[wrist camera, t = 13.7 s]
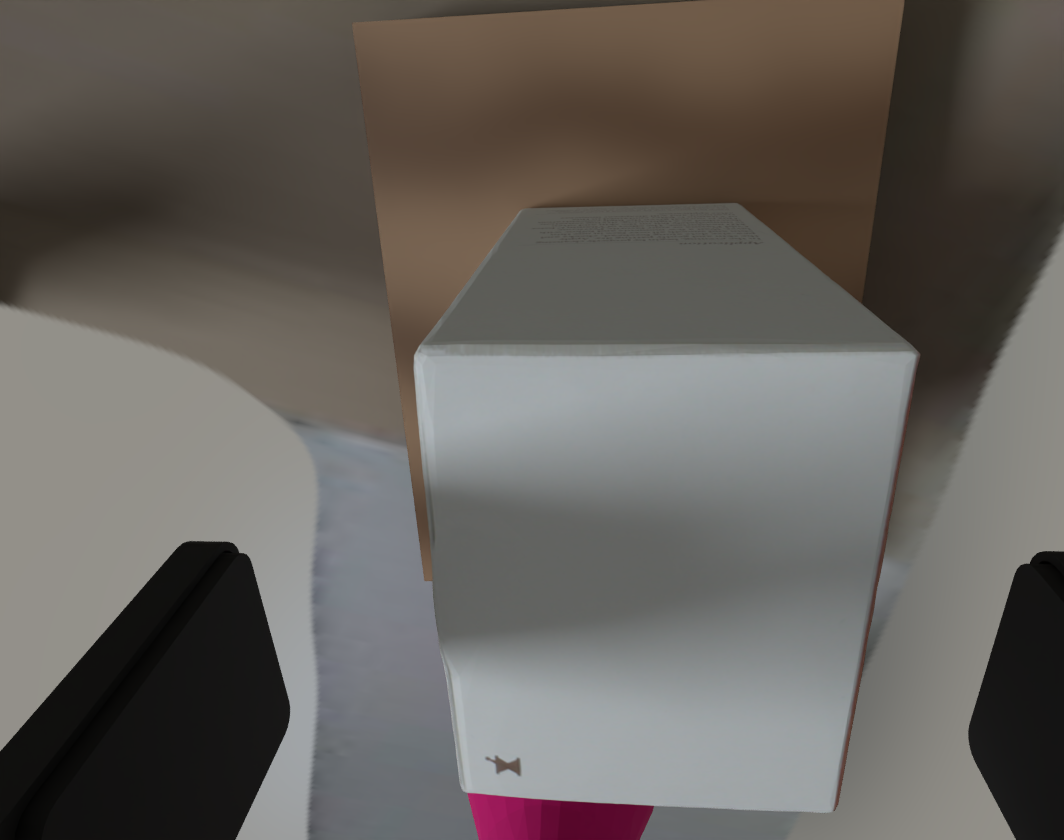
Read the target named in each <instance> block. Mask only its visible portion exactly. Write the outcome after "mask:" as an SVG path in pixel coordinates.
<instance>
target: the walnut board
mask: <svg viewBox="0 0 1064 840" xmlns="http://www.w3.org/2000/svg"><path fill="white" fill-rule="evenodd" d="M904 2H905V0H703V1H687V2H671V3H656V4H640V5H624V6H608V7H593V8H577V9H561V10H545V11H530V12H514V13H498V14H483V15H467V16H451V17H435V18H420V19H404V20H388V21H372V22H357V23H352V27H353V34H354V42H355V50H356V57H357V65H358V73H359V81H360V88H361V96H362V104H363V111H364V119H365V127H366V134H367V142H368V150H369V157H370V165H371V173H372V181H373V188H374V196H375V204H376V211H377V219H378V227H379V234H380V242H381V250H382V258H383V265H384V273H385V281H386V288H387V296H388V304H389V311H390V319H391V327H392V334H393V342H394V350H395V358H396V365H397V373H398V381H399V388H400V396H401V404H402V411H403V419H404V427H405V434H406V442H407V450H408V458H409V465H410V473H411V481H412V488H413V496H414V504H415V511H416V519H417V527H418V535H419V542H420V550H421V558H422V565H423V573H424V581H433V580H432V561H431V549H430V536H429V527H428V517H427V507H426V495H425V486H424V478H423V469H422V458H421V447H420V436H419V425H418V415H417V403H416V390H415V378H414V355H415V353H416V351H417V349H418V347H419V345H420V344H421V343H422V342H423V340H424V339H425V338H426V337H427V335H428V334H429V333H430V332H431V330H432V329H433V328H434V326H435V325H436V324H437V322H438V321H439V320H440V319H441V317H442V316H443V315H444V313H445V312H446V311H447V309H448V308H449V307H450V305H451V304H452V302H453V301H454V300H455V298H456V297H457V295H458V294H459V293H460V291H461V290H462V289H463V287H464V286H465V285H466V283H467V282H468V281H469V279H470V278H471V276H472V275H473V274H474V272H475V271H476V270H477V268H478V267H479V265H480V264H481V263H482V261H483V260H484V259H485V257H486V256H487V255H488V253H489V252H490V251H491V249H492V248H493V247H494V245H495V244H496V243H497V241H498V240H499V239H500V237H501V236H502V235H503V233H504V232H505V230H506V229H507V228H508V226H509V225H510V224H511V222H512V221H513V220H514V218H515V217H516V216H517V214H518V213H519V211H520V210H522V209H526V208H557V207H596V206H637V205H676V204H715V203H738V204H740V205H741V206H743V207H744V208H745V209H746V210H748V211H749V212H750V213H751V214H752V215H754V216H755V217H756V218H757V219H758V220H760V221H761V222H762V223H764V224H765V225H766V226H767V227H769V228H770V229H771V230H772V231H774V232H775V233H776V234H777V235H778V236H780V237H781V238H782V239H783V240H784V241H786V242H787V243H788V244H789V245H790V246H792V247H793V248H794V249H795V250H796V251H798V252H799V253H800V254H801V255H802V256H804V257H805V258H806V259H807V260H809V261H810V262H811V263H812V264H814V265H815V266H816V267H817V268H818V269H819V270H821V271H822V272H823V273H824V274H825V275H827V276H828V277H829V278H830V279H831V280H833V281H834V282H836V283H837V284H838V285H839V286H841V287H842V288H843V289H844V290H846V291H847V292H848V293H849V294H850V295H852V296H853V297H854V298H855V299H856V300H858V301H859V302H860V303H861V304H862V299H863V292H864V285H865V278H866V271H867V264H868V257H869V250H870V243H871V236H872V228H873V221H874V214H875V207H876V200H877V193H878V186H879V179H880V172H881V165H882V158H883V151H884V143H885V136H886V129H887V122H888V115H889V108H890V101H891V94H892V87H893V80H894V73H895V65H896V58H897V51H898V44H899V37H900V30H901V23H902V16H903V9H904Z"/></svg>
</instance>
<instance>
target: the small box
mask: <svg viewBox="0 0 1064 840" xmlns="http://www.w3.org/2000/svg"><path fill="white" fill-rule="evenodd" d="M920 355H921V354H920V353H919V352H918V351H917V350H916V349H915V348H914V347H913V346H912V345H911V344H910V343H909V342H907V341H906V340H905V339H904V338H903V337H901V336H900V335H899V334H898V333H896V332H895V331H894V330H892V329H891V328H890V327H889V326H888V325H886V324H885V323H884V322H883V321H882V320H880V319H879V318H878V317H877V316H876V315H874V314H873V313H872V312H871V311H870V310H868V309H867V308H866V307H865V306H864V305H862V304H861V303H860V302H859V301H858V300H856V299H855V298H854V297H853V296H852V295H850V294H849V293H848V292H847V291H846V290H844V289H843V288H842V287H841V286H839V285H838V284H837V283H836V282H834V281H833V280H831V279H830V278H829V277H828V276H827V275H825V274H824V273H823V272H822V271H821V270H819V269H818V268H817V267H816V266H815V265H814V264H812V263H811V262H810V261H809V260H807V259H806V258H805V257H804V256H802V255H801V254H800V253H799V252H798V251H796V250H795V249H794V248H793V247H792V246H790V245H789V244H788V243H787V242H786V241H784V240H783V239H782V238H781V237H780V236H778V235H777V234H776V233H775V232H774V231H772V230H771V229H770V228H769V227H767V226H766V225H765V224H764V223H762V222H761V221H760V220H758V219H757V218H756V217H755V216H754V215H752V214H751V213H750V212H749V211H748V210H746V209H745V208H744V207H743V206H741V205H740V204H738V203H715V204H676V205H637V206H596V207H557V208H526V209H522V210H520V211H519V213H518V214H517V216H516V217H515V218H514V220H513V221H512V222H511V224H510V225H509V226H508V228H507V229H506V230H505V232H504V233H503V235H502V236H501V237H500V239H499V240H498V241H497V243H496V244H495V245H494V247H493V248H492V249H491V251H490V252H489V253H488V255H487V256H486V257H485V259H484V260H483V261H482V263H481V264H480V265H479V267H478V268H477V270H476V271H475V272H474V274H473V275H472V276H471V278H470V279H469V281H468V282H467V283H466V285H465V286H464V287H463V289H462V290H461V291H460V293H459V294H458V295H457V297H456V298H455V300H454V301H453V302H452V304H451V305H450V307H449V308H448V309H447V311H446V312H445V313H444V315H443V316H442V317H441V319H440V320H439V321H438V322H437V324H436V325H435V326H434V328H433V329H432V330H431V332H430V333H429V334H428V335H427V337H426V338H425V339H424V340H423V342H422V343H421V344H420V345H419V347H418V349H417V351H416V353H415V355H414V378H415V390H416V403H417V415H418V425H419V436H420V447H421V458H422V469H423V478H424V486H425V495H426V507H427V517H428V527H429V536H430V549H431V561H432V580H433V599H434V609H435V617H436V625H437V630H438V637H439V647H440V653H441V657H442V661H443V664H444V669H445V674H446V680H447V687H448V694H449V702H450V709H451V716H452V726H453V733H454V739H455V745H456V755H457V763H458V771H459V780H460V785H461V788H462V791H464V792H466V793H477V794H487V795H498V796H508V797H519V798H531V799H545V800H560V801H576V802H594V803H613V804H633V805H650V806H676V807H701V808H719V809H738V810H764V811H803V812H818V813H831V812H833V811H835V809H836V807H837V805H838V802H839V796H840V791H841V786H842V780H843V775H844V769H845V764H846V758H847V752H848V746H849V740H850V734H851V729H852V724H853V719H854V714H855V709H856V703H857V697H858V692H859V687H860V681H861V676H862V671H863V665H864V659H865V653H866V647H867V640H868V634H869V630H870V626H871V622H872V616H873V611H874V605H875V598H876V592H877V586H878V582H879V578H880V573H881V568H882V563H883V557H884V552H885V546H886V540H887V534H888V526H889V520H890V516H891V512H892V506H893V501H894V495H895V489H896V483H897V477H898V472H899V466H900V461H901V455H902V450H903V445H904V439H905V434H906V428H907V423H908V417H909V412H910V406H911V400H912V395H913V389H914V383H915V377H916V370H917V367H918V363H919V359H920Z"/></svg>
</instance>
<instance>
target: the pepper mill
mask: <svg viewBox="0 0 1064 840" xmlns="http://www.w3.org/2000/svg"><path fill="white" fill-rule="evenodd" d="M468 797H469V801H470V805H471V809H472V813H473V817H474V821H475V825H476V829H477V833H478V837H479V840H640V837H641V835H642V833H643V831H644V829H645V827H646V825H647V822H648V820H649V818H650V816H651V814H652V811H653V808H654V806H650V805H633V804H613V803H594V802H576V801H560V800H545V799H531V798H519V797H508V796H498V795H487V794H477V793H468Z"/></svg>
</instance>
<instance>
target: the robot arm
mask: <svg viewBox="0 0 1064 840" xmlns="http://www.w3.org/2000/svg"><path fill="white" fill-rule="evenodd" d="M289 718H290V704H289V699H288V696H287V692H286V688H285V684H284V681H283V677H282V673H281V670H280V666H279V662H278V658H277V655H276V651H275V647H274V644H273V640H272V636H271V633H270V629H269V625H268V622H267V618H266V614H265V611H264V607H263V603H262V599H261V596H260V593H259V589H258V585H257V581H256V577H255V574H254V570H253V567H252V563H251V561H250V558H249V557H248V556H247V554H244V553H239V551H238V549H237V547H236V546H235V545H234V544H233V543H230V542H204V541H197V542H196V541H189V542H185V543H183V544H181V546H179V547H178V548H177V549H176V550H175V551H174V552H173V554H172V555H171V556H170V557H169V558H168V559H167V561H166V562H165V563H164V564H163V565H162V566H161V567H160V568H159V570H158V571H157V572H156V573H155V574H154V575H153V577H152V578H151V579H150V580H149V581H148V582H147V583H146V585H145V586H144V587H143V588H142V589H141V590H140V591H139V593H138V594H137V595H136V596H135V597H134V598H133V600H132V601H131V602H130V603H129V604H128V605H127V607H126V608H125V609H124V610H123V611H122V612H121V613H120V615H119V616H118V617H117V618H116V619H115V620H114V622H113V623H112V624H111V625H110V626H109V627H108V628H107V630H106V631H105V632H104V633H103V634H102V635H101V636H100V637H99V639H98V640H97V641H96V642H95V643H94V645H93V646H92V647H91V648H90V649H89V650H88V651H87V652H86V654H85V655H84V656H83V657H82V658H81V659H80V660H79V662H78V663H77V664H76V665H75V666H74V667H73V669H72V670H71V671H70V672H69V673H68V675H66V677H65V678H64V679H63V680H62V681H61V682H60V683H59V685H58V686H57V687H56V688H55V690H53V692H52V693H51V694H50V695H49V696H48V697H47V698H46V700H45V701H44V702H43V703H42V704H41V705H40V707H39V708H38V709H37V710H36V711H35V712H34V713H33V715H32V716H31V717H30V718H29V719H28V720H27V721H26V723H25V724H24V725H23V726H22V727H21V728H20V730H19V731H18V732H17V733H16V734H15V735H14V736H13V738H12V739H11V740H10V741H9V742H8V743H7V744H6V746H5V747H4V748H3V749H2V750H1V751H0V840H235V839H236V837H237V835H238V833H239V831H240V829H241V827H242V825H243V822H244V820H245V818H246V816H247V814H248V812H249V810H250V808H251V805H252V803H253V801H254V799H255V797H256V795H257V792H258V791H259V788H260V786H261V784H262V782H263V780H264V778H265V776H266V773H267V771H268V769H269V767H270V765H271V763H272V761H273V759H274V757H275V754H276V752H277V750H278V748H279V746H280V744H281V742H282V740H283V737H284V735H285V733H286V730H287V728H288V723H289ZM968 732H969V733H968V734H969V745H970V749H971V753H972V756H973V758H974V760H975V762H976V764H977V766H978V768H979V770H980V772H981V774H982V776H983V778H984V780H985V781H986V783H987V785H988V787H989V789H990V791H991V793H992V795H993V797H994V799H995V800H996V802H997V804H998V806H999V808H1000V810H1001V812H1002V814H1003V816H1004V818H1005V819H1006V821H1007V823H1008V825H1009V827H1010V829H1011V831H1012V833H1013V835H1014V836H1015V838H1016V840H1064V552H1055V551H1053V552H1052V551H1044V552H1039V553H1037V554H1036V555H1035V556H1034V557H1033V558H1032V560H1031V562H1030V564H1023V565H1021V566H1020V567H1019V568H1018V569H1017V571H1016V573H1015V575H1014V579H1013V582H1012V585H1011V589H1010V592H1009V595H1008V599H1007V602H1006V605H1005V608H1004V612H1003V615H1002V618H1001V622H1000V625H999V628H998V632H997V635H996V638H995V642H994V645H993V648H992V652H991V655H990V659H989V662H988V665H987V669H986V672H985V675H984V678H983V682H982V685H981V688H980V692H979V695H978V698H977V701H976V705H975V708H974V711H973V715H972V718H971V721H970V725H969V731H968Z"/></svg>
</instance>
